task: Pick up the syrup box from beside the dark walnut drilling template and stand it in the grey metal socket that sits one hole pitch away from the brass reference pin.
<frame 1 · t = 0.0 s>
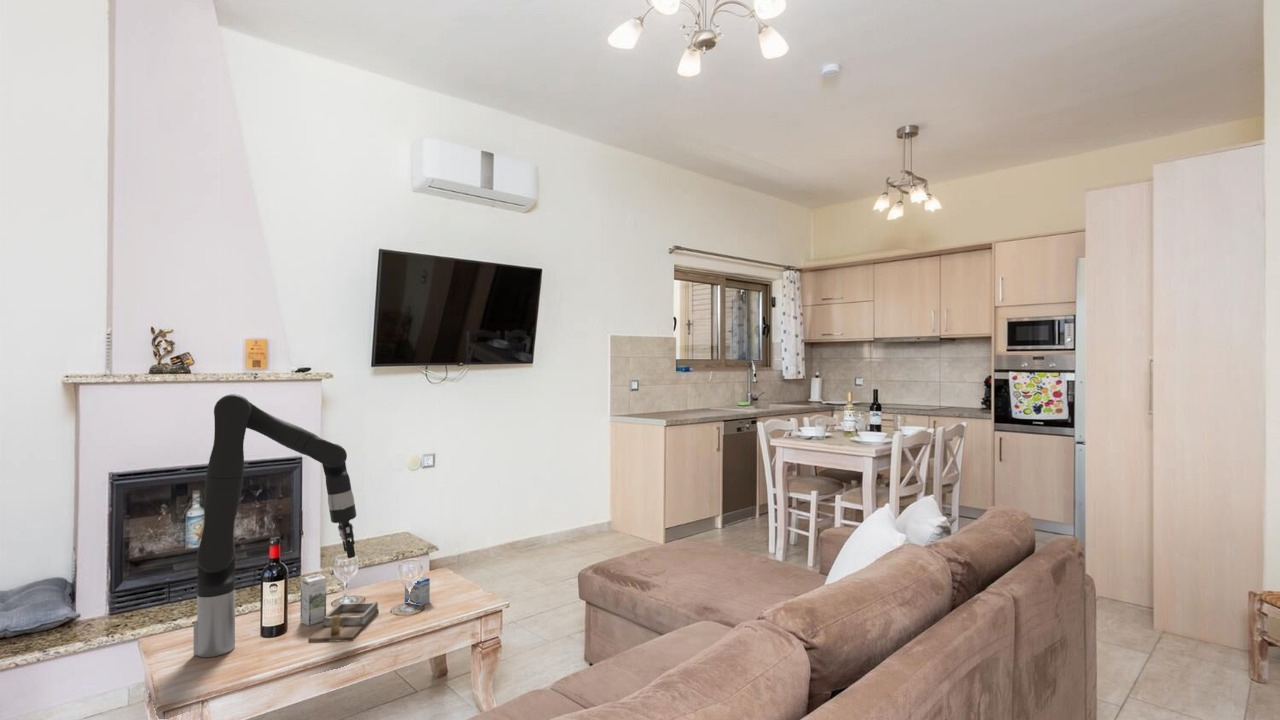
hand: (349, 554, 203), 22 cm above the table, tool pointing down, fingers open, 8 cm apart
drilling template: (345, 626, 201), on the table
medicine box: (417, 603, 221), on the table
syrup box: (313, 622, 204), on the table
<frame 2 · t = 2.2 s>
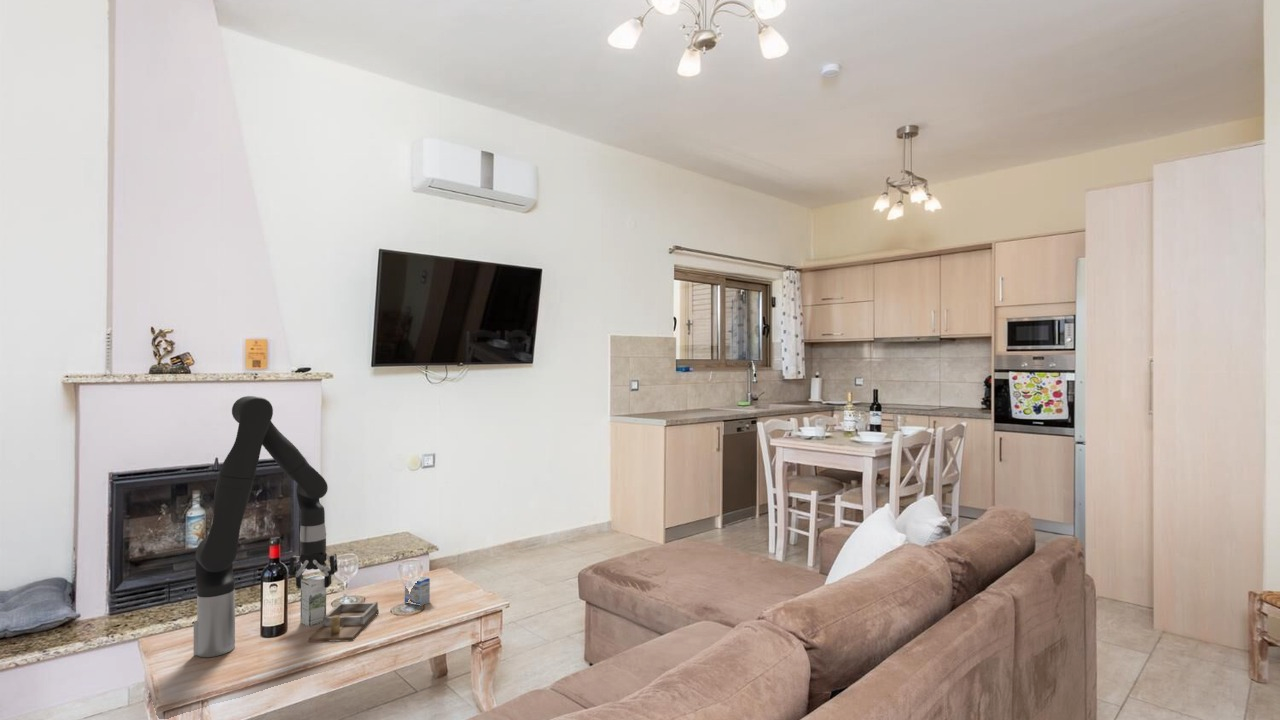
hand: (314, 587, 205), 11 cm above the table, tool pointing down, fingers closed on syrup box, 8 cm apart
syrup box: (313, 622, 204), on the table, touching gripper
everything else where it was.
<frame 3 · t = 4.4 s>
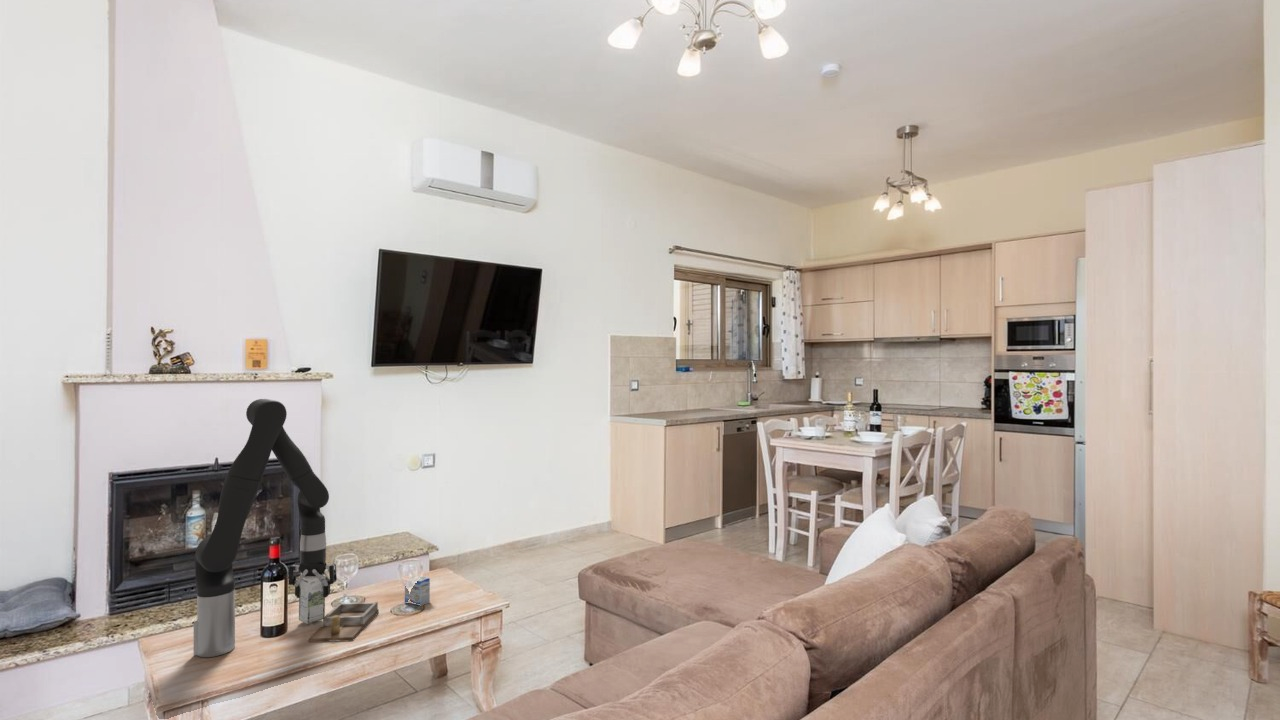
hand: (312, 596, 204), 8 cm above the table, tool pointing down, fingers closed on syrup box, 8 cm apart
syrup box: (311, 620, 204), point 1 cm above the table, touching gripper
everything else where it was.
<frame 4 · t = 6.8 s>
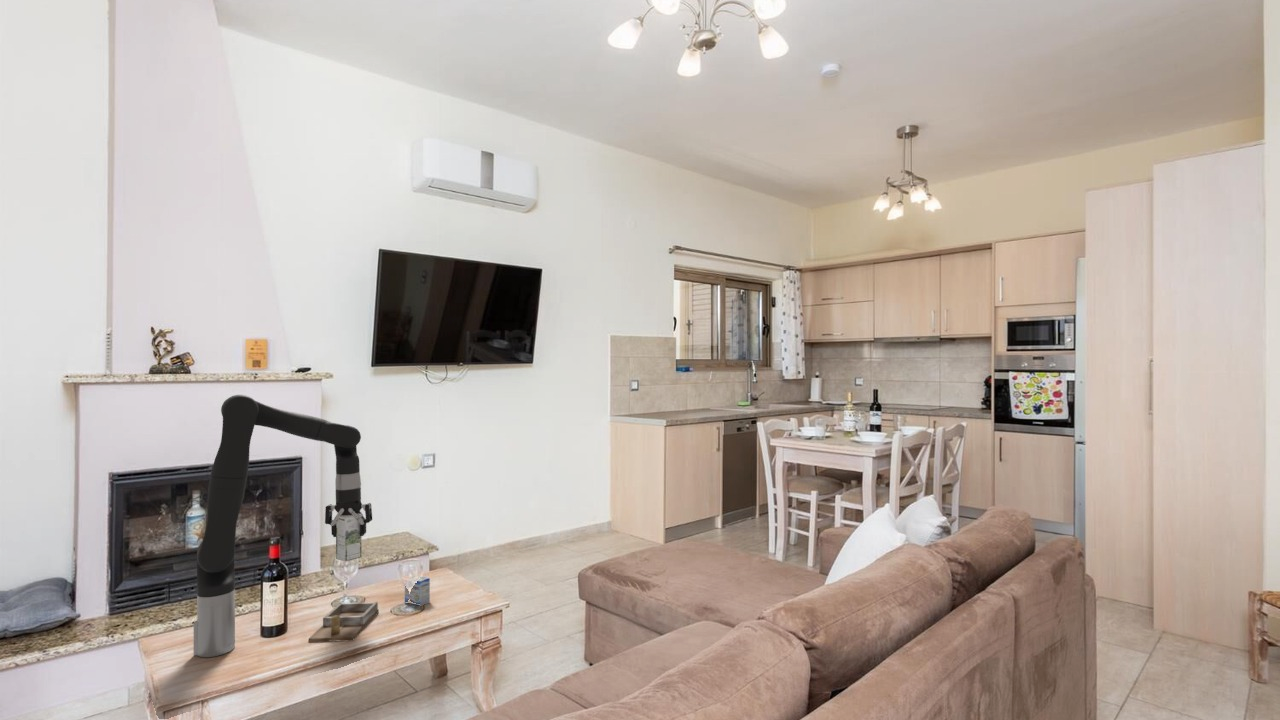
hand: (349, 536, 206), 28 cm above the table, tool pointing down, fingers closed on syrup box, 8 cm apart
syrup box: (349, 559, 205), point 20 cm above the table, touching gripper
everything else where it was.
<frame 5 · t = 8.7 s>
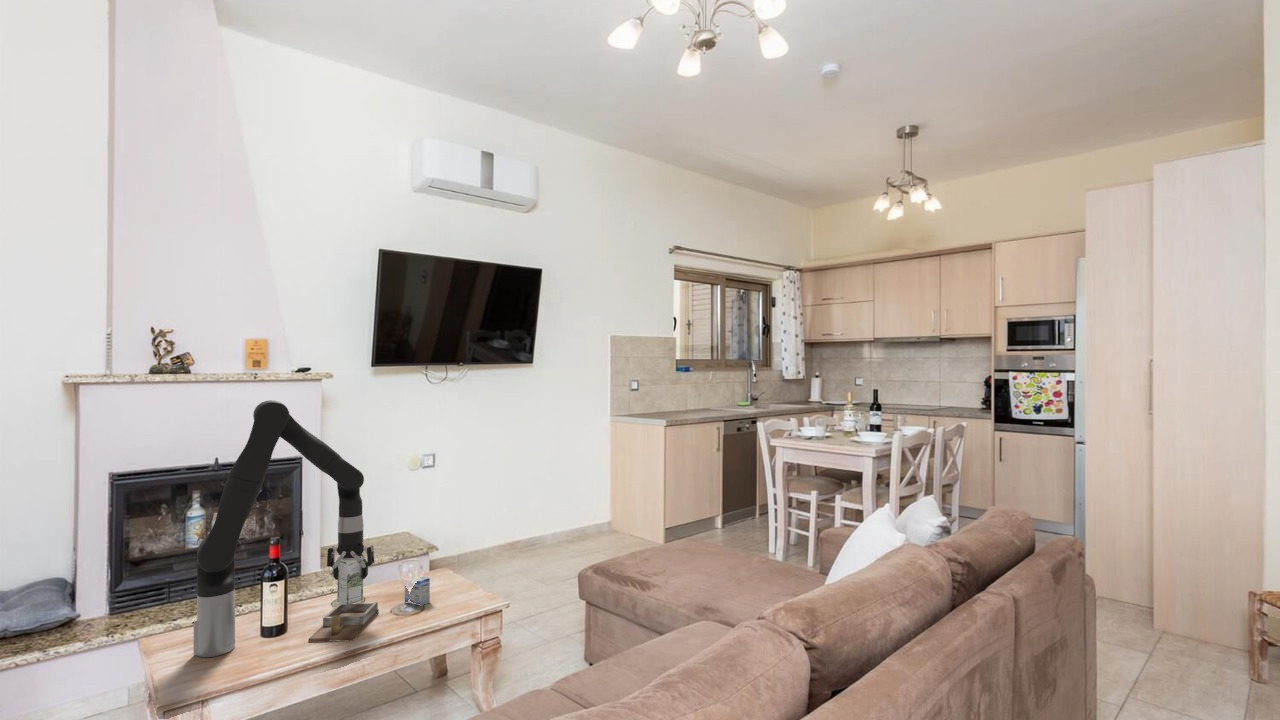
hand: (350, 578, 205), 14 cm above the table, tool pointing down, fingers closed on syrup box, 8 cm apart
syrup box: (350, 601, 205), point 6 cm above the table, touching gripper
everything else where it was.
when the fingers open (9 cm above the table, at t = 10.6 s): syrup box drops 1 cm, resting on drilling template.
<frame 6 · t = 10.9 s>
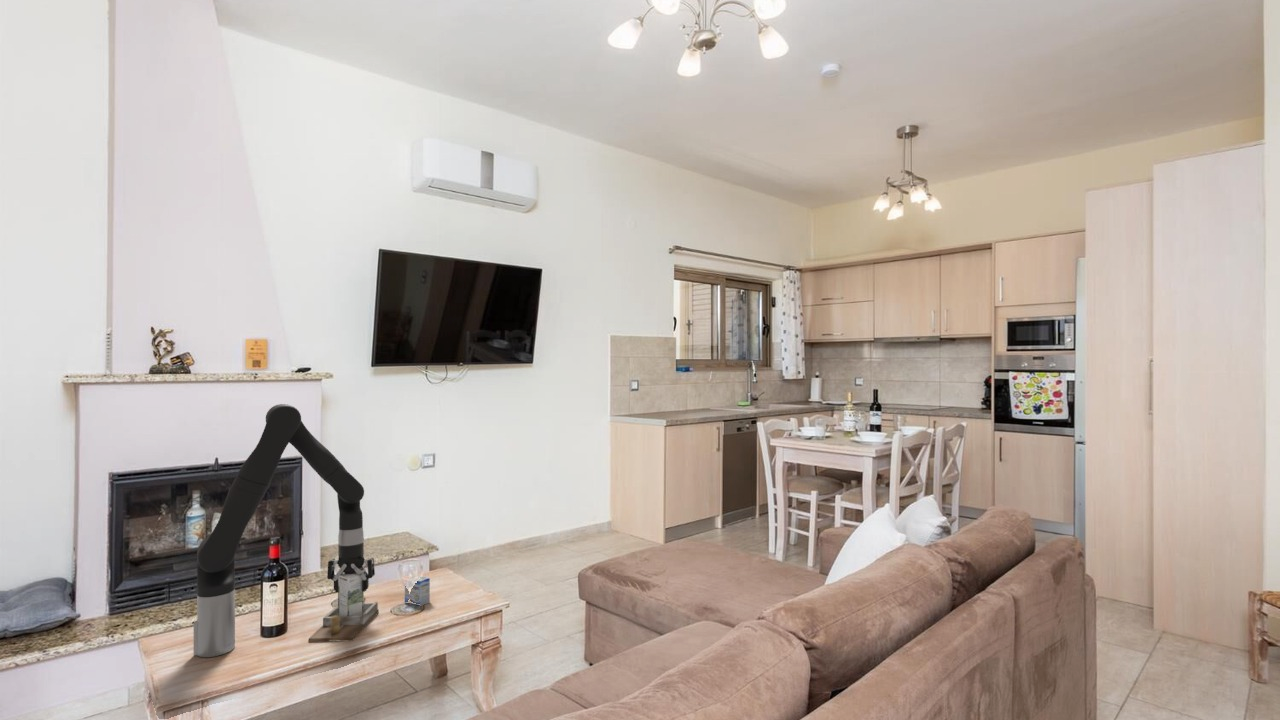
hand: (351, 591, 205), 10 cm above the table, tool pointing down, fingers open, 8 cm apart
syrup box: (351, 618, 205), point 1 cm above the table, touching drilling template, gripper
everything else where it was.
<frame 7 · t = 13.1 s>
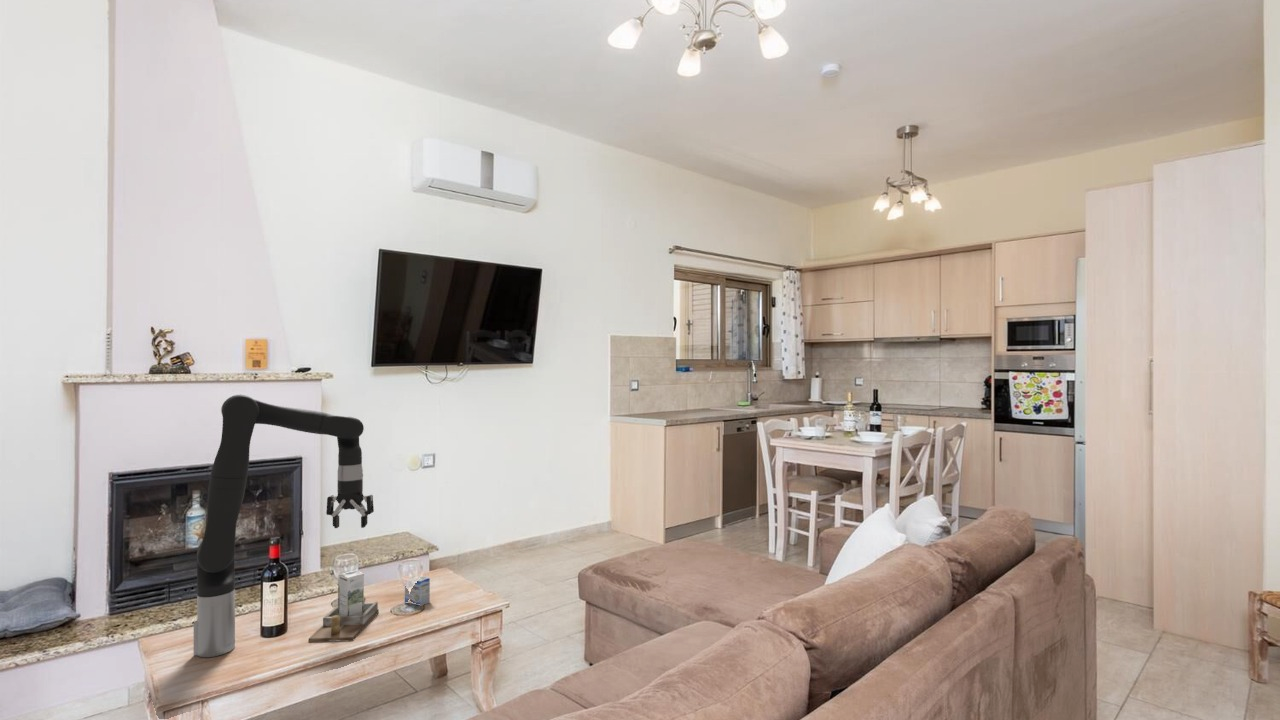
hand: (350, 527, 206), 30 cm above the table, tool pointing down, fingers open, 8 cm apart
syrup box: (351, 618, 205), point 1 cm above the table, touching drilling template
everything else where it was.
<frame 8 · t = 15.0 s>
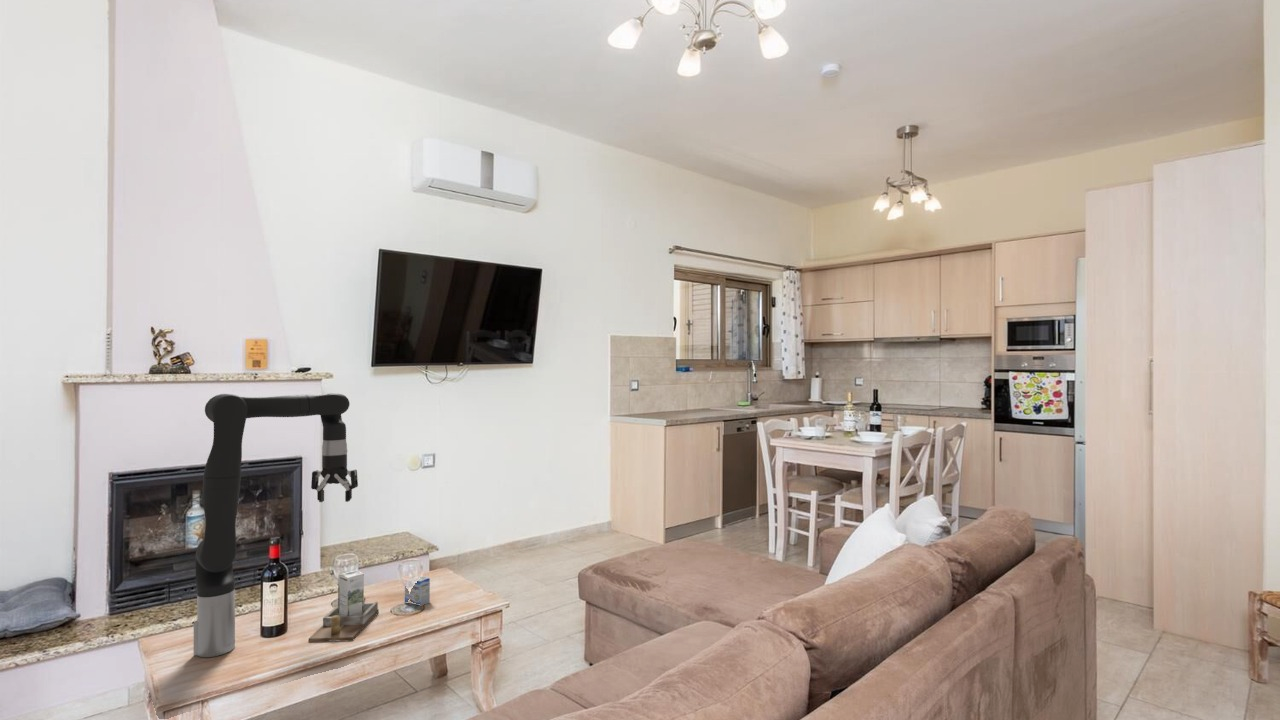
hand: (334, 501, 210), 38 cm above the table, tool pointing down, fingers open, 8 cm apart
nothing on the table moved.
at the end: syrup box 0.2 cm from the target spot on the drilling template, point 0.8 cm above the drilling template's base; syrup box tilted 0°; the gripper is holding nothing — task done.
